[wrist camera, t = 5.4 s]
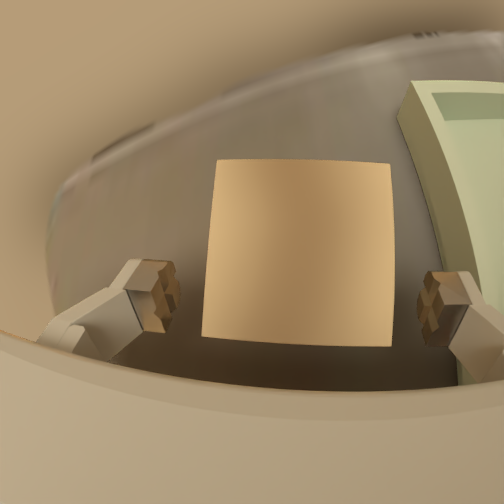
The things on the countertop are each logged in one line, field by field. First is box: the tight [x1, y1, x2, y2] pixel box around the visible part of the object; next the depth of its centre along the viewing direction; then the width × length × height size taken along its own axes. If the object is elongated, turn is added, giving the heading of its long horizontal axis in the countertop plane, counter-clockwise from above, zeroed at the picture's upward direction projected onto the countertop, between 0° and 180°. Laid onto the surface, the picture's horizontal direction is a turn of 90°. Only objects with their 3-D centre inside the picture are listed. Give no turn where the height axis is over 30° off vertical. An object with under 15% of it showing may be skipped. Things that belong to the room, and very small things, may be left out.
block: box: [202, 159, 395, 346], centre depth 11 cm, size 4×4×8 cm
